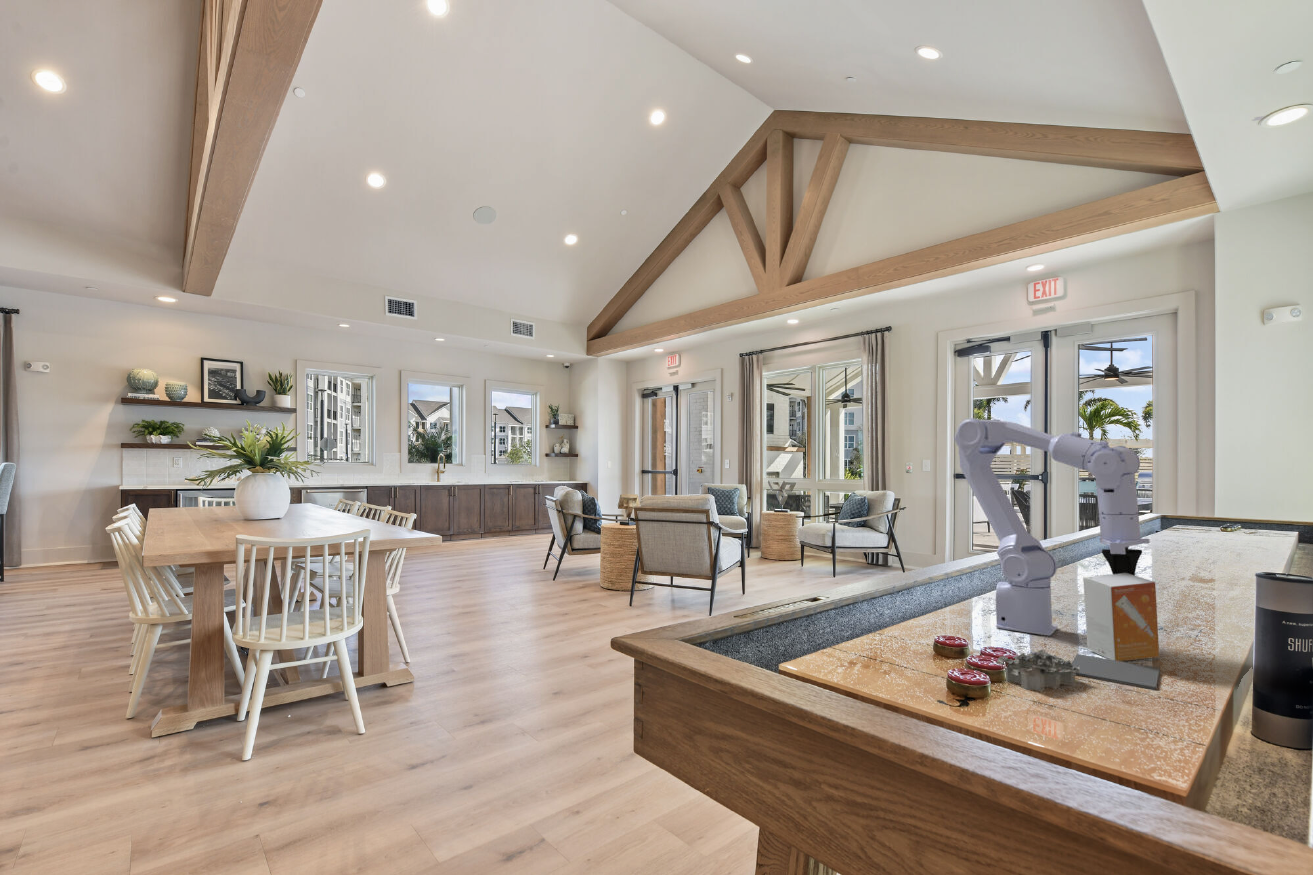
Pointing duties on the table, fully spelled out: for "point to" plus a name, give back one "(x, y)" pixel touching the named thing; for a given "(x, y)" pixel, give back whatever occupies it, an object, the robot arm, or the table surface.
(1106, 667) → the mat
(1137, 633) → the small box
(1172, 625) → the table surface
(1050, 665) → the egg carton
